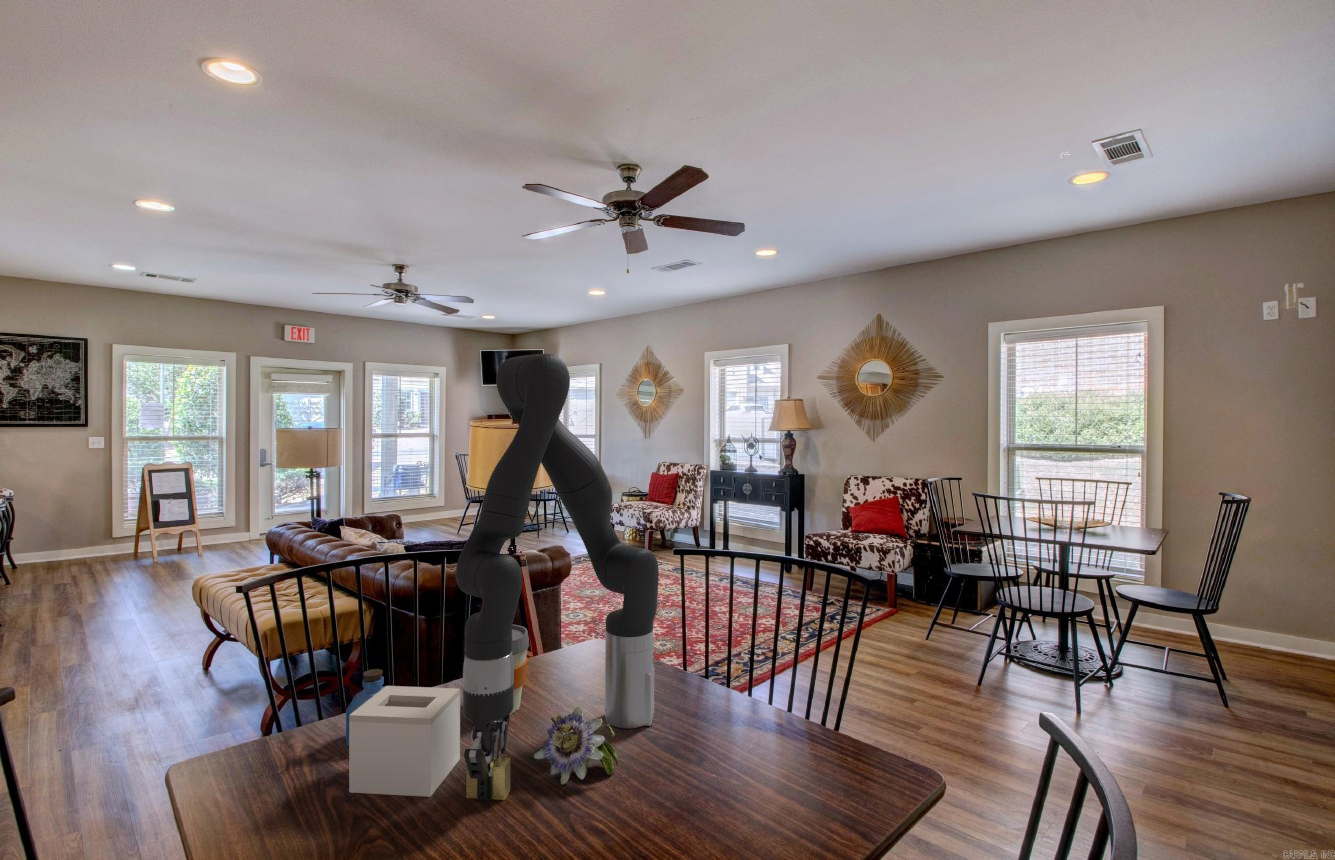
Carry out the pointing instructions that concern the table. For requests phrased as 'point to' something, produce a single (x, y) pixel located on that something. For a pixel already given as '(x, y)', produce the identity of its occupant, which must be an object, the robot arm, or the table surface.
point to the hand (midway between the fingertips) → (488, 793)
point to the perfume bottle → (365, 693)
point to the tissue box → (404, 741)
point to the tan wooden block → (493, 780)
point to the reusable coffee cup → (519, 661)
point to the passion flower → (576, 746)
